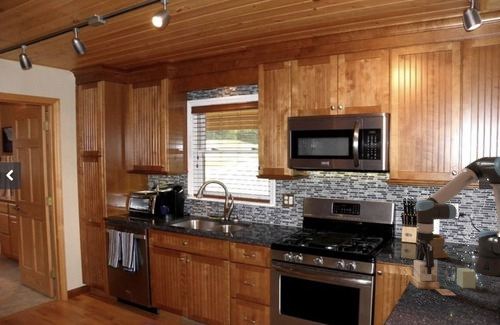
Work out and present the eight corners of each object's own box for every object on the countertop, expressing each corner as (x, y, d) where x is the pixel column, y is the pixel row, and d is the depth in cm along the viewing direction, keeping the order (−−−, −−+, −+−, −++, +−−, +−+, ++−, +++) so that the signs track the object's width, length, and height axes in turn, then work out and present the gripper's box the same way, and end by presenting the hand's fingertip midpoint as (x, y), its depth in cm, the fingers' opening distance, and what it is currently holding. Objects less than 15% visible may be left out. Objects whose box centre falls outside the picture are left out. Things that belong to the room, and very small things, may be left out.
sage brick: (468, 284, 192) (469, 268, 192) (475, 288, 186) (475, 271, 186) (456, 284, 192) (456, 268, 192) (462, 288, 186) (462, 271, 186)
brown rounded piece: (429, 260, 238) (429, 236, 238) (421, 255, 250) (421, 232, 250) (453, 260, 237) (454, 236, 237) (444, 255, 249) (444, 232, 249)
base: (430, 281, 195) (430, 276, 195) (440, 288, 184) (440, 282, 184) (409, 281, 196) (409, 275, 196) (417, 288, 185) (417, 282, 185)
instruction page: (447, 289, 184) (447, 288, 184) (456, 295, 176) (456, 294, 176) (435, 289, 184) (435, 288, 184) (442, 295, 176) (442, 294, 176)
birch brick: (429, 276, 194) (429, 260, 194) (436, 281, 186) (436, 264, 186) (413, 275, 194) (413, 260, 194) (420, 280, 186) (420, 264, 186)
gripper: (409, 227, 200) (409, 271, 201) (426, 235, 180) (425, 284, 180) (424, 228, 200) (423, 271, 200) (442, 236, 179) (442, 284, 179)
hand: (424, 277), depth 190 cm, fingers closed on birch brick, 8 cm apart
